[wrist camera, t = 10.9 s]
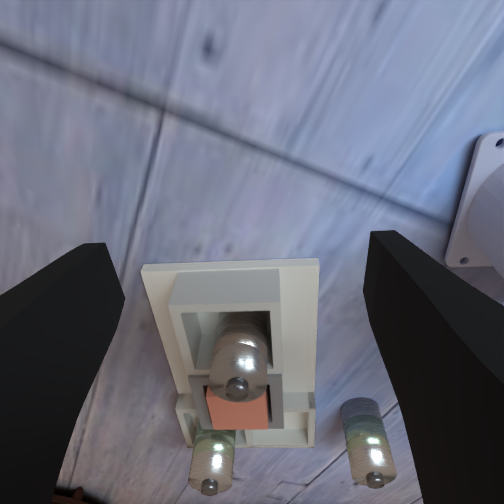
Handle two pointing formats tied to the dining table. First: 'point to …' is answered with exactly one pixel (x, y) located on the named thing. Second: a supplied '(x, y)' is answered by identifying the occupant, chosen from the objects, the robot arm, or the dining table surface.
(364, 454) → the cell
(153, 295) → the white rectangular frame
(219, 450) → the cell
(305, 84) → the dining table surface
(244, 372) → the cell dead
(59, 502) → the wooden thread spool stand
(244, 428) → the pad
